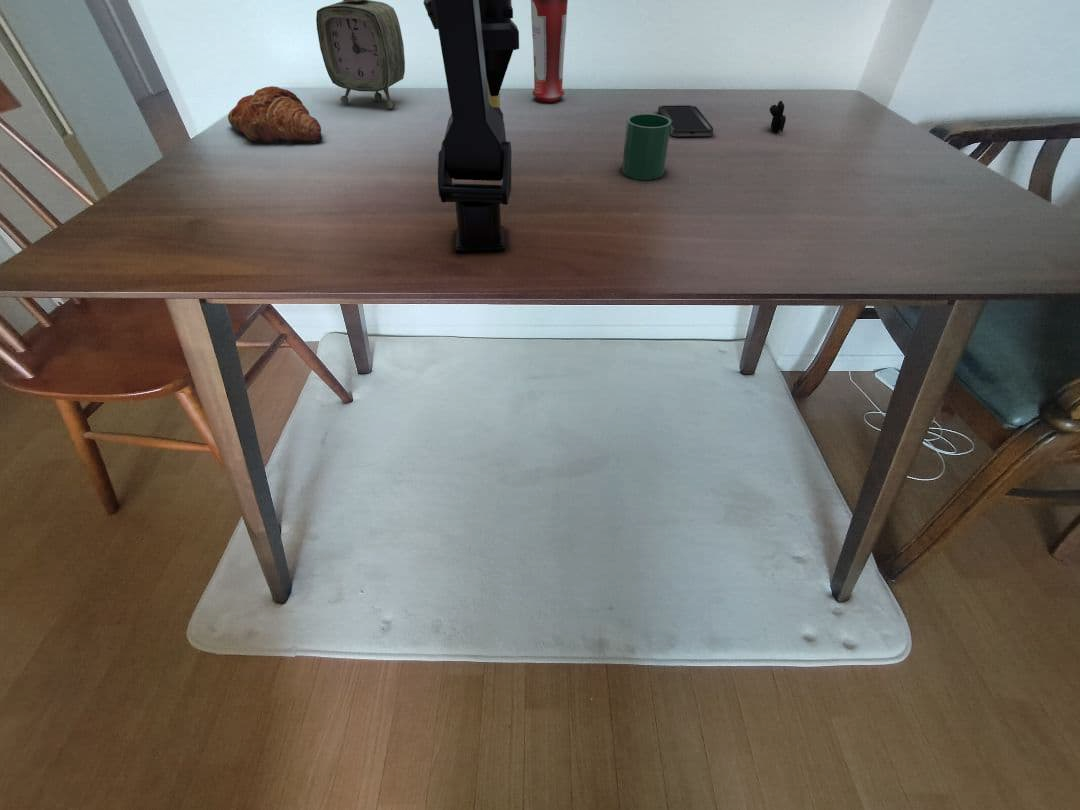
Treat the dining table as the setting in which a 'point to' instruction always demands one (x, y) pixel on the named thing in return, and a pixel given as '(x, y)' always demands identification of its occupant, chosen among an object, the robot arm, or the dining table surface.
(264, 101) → the pastry
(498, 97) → the yellow rod
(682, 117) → the phone
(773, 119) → the black figurine
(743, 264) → the dining table surface
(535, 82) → the liquor
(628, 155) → the cup
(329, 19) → the tabletop clock
